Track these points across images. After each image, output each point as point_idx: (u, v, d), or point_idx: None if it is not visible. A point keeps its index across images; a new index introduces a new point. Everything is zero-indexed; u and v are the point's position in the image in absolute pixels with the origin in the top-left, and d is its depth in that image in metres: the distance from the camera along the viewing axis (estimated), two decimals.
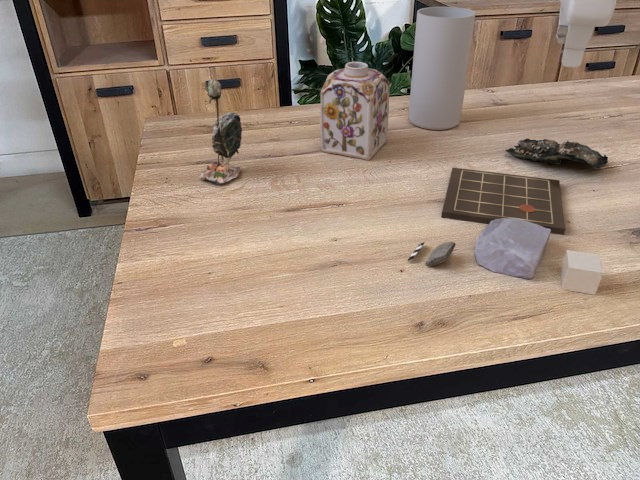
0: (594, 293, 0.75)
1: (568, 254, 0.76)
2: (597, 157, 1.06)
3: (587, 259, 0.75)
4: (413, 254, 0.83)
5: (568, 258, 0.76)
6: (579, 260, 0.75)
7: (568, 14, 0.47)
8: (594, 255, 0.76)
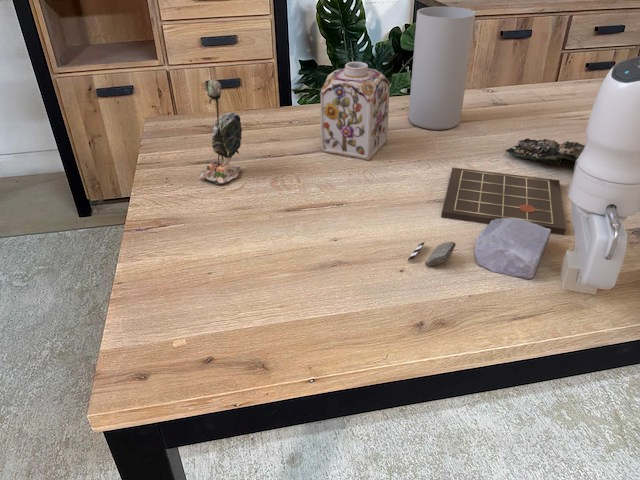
0: (594, 293, 0.75)
1: (568, 254, 0.76)
2: None
3: None
4: (413, 254, 0.83)
5: (568, 258, 0.76)
6: None
7: (583, 281, 0.66)
8: None
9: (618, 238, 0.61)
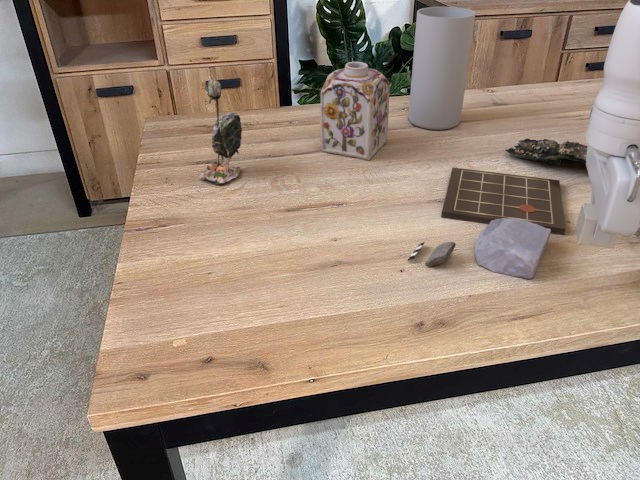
0: (613, 247, 0.70)
1: (584, 207, 0.72)
2: None
3: None
4: (413, 254, 0.83)
5: (584, 210, 0.71)
6: (596, 212, 0.71)
7: (603, 227, 0.62)
8: None
9: None
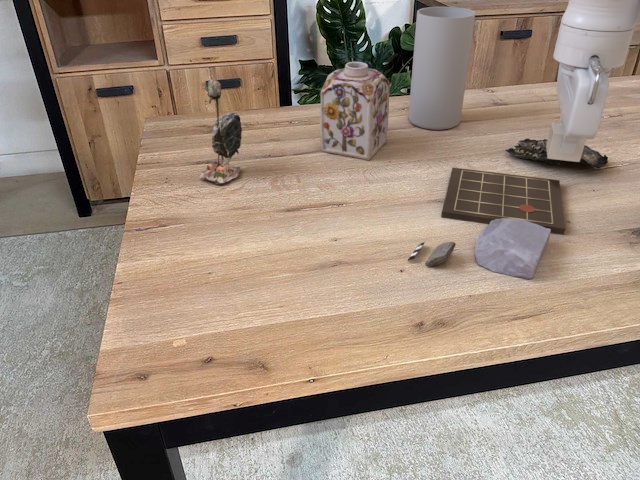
0: (578, 160, 0.77)
1: (553, 125, 0.78)
2: (597, 157, 1.06)
3: None
4: (413, 254, 0.83)
5: (553, 127, 0.78)
6: (563, 129, 0.77)
7: (567, 131, 0.68)
8: None
9: (600, 79, 0.63)
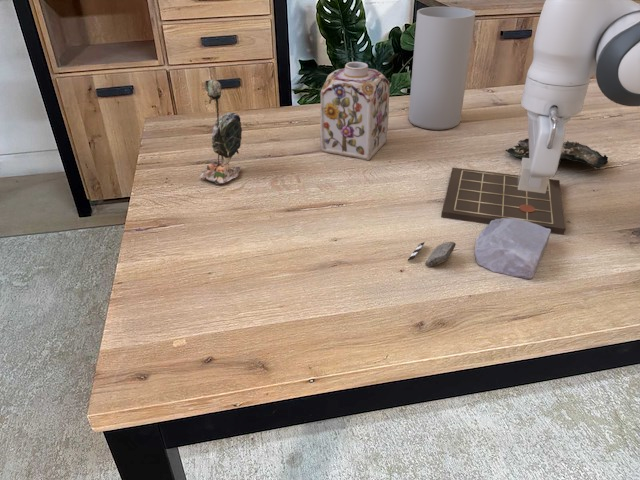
0: (544, 192, 0.88)
1: (523, 160, 0.89)
2: (597, 157, 1.06)
3: None
4: (413, 254, 0.83)
5: (523, 162, 0.89)
6: None
7: (530, 170, 0.79)
8: None
9: (556, 128, 0.74)
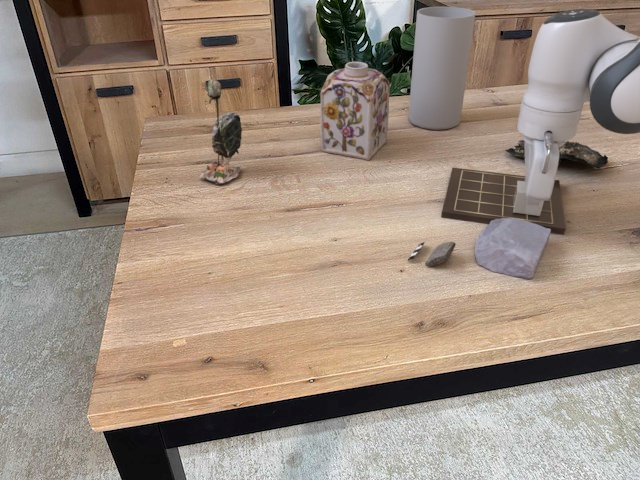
0: (539, 214, 0.90)
1: (518, 183, 0.92)
2: (597, 157, 1.06)
3: None
4: (413, 254, 0.83)
5: (518, 186, 0.91)
6: None
7: (526, 193, 0.81)
8: None
9: (550, 154, 0.76)
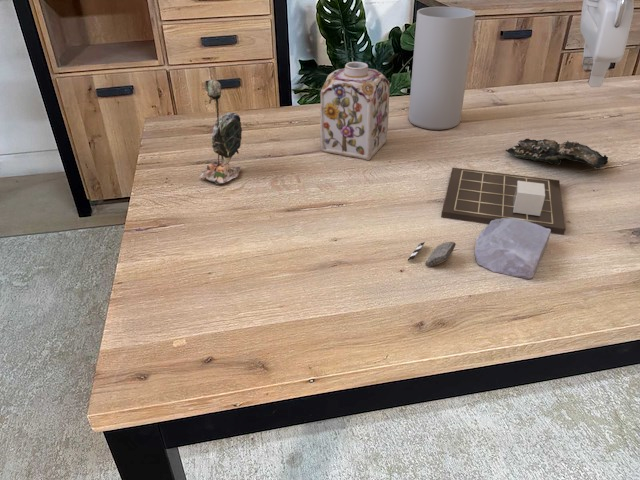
0: (539, 214, 0.90)
1: (518, 183, 0.92)
2: (597, 157, 1.06)
3: (534, 186, 0.91)
4: (413, 254, 0.83)
5: (518, 186, 0.91)
6: (526, 187, 0.90)
7: (595, 55, 0.73)
8: (539, 184, 0.91)
9: (625, 1, 0.69)
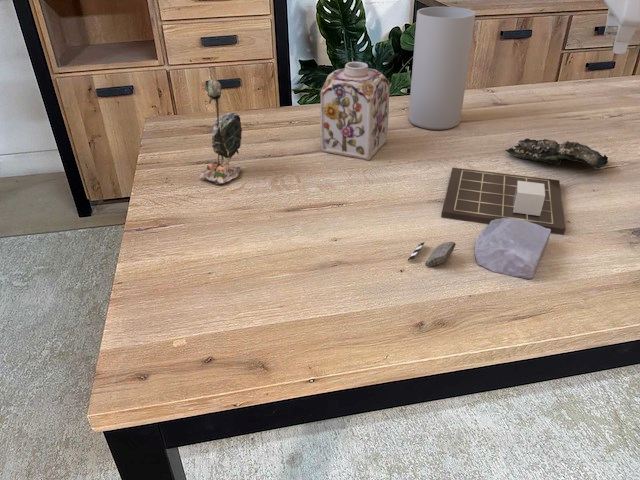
0: (539, 214, 0.90)
1: (518, 183, 0.92)
2: (597, 157, 1.06)
3: (534, 186, 0.91)
4: (413, 254, 0.83)
5: (518, 186, 0.91)
6: (526, 187, 0.90)
7: (621, 19, 0.73)
8: (539, 184, 0.91)
9: None
